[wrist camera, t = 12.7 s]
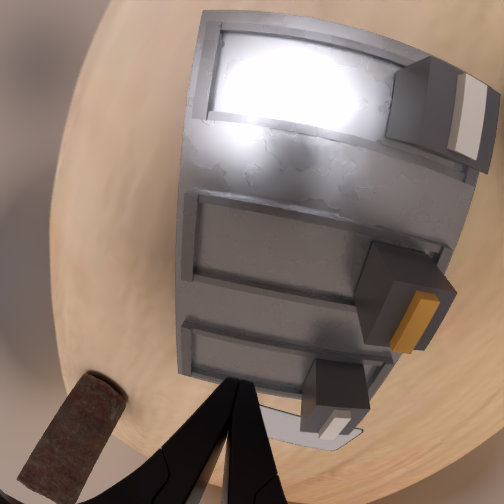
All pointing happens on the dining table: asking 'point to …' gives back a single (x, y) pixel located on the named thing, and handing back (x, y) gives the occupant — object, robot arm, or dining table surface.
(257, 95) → the panel
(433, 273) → the breaker mid
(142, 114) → the dining table surface
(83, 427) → the candle
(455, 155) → the block
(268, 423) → the smartphone
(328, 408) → the breaker
